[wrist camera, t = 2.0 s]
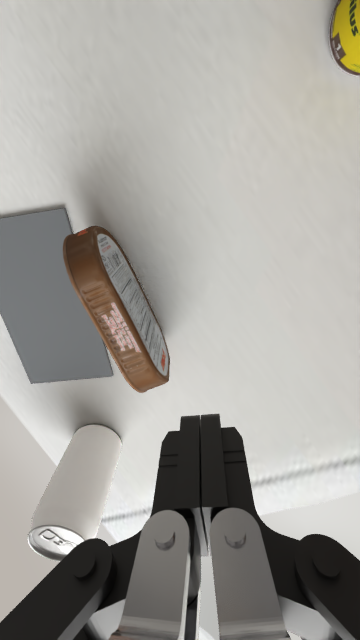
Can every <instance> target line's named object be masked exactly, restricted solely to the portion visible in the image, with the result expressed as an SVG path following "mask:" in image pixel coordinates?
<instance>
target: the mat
mask: <svg viewBox="0 0 360 640" xmlns="http://www.w3.org/2000/svg"><path fill="white" fill-rule="evenodd" d="M70 234H73V233H72V229H71V226H70V222H69V219H68V216H67V212H66V209H65V208H62V209H56V210H50V211H44V212H38V213H31V214H25V215H19V216H13V217H7V218H1V219H0V314H1V316H2V318H3V320H4V323H5V325H6V327H7V330H8V332H9V334H10V337H11V339H12V341H13V343H14V346H15V348H16V350H17V353H18V355H19V357H20V360H21V362H22V364H23V366H24V369H25V371H26V373H27V376H28V378H29V380H30V382H31V384H33V383H44V382H55V381H66V380H78V379H89V378H100V377H111V376H113V372H112V368H111V365H110V361H109V358H108V354H107V351H106V347H105V344H104V341H103V339H102V338H101V336H100V334H99V332H98V331H97V329H96V327H95V326H94V324H93V322H92V320H91V319H90V317H89V315H88V313H87V312H86V310H85V308H84V306H83V305H82V303H81V301H80V299H79V298H78V296H77V294H76V292H75V290H74V288H73V286H72V284H71V281H70V279H69V276H68V274H67V271H66V267H65V263H64V259H63V242H64V239H65V238H66V236H68V235H70Z"/></svg>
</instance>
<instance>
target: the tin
mask: <svg viewBox="0 0 360 640" xmlns="http://www.w3.org/2000/svg"><path fill="white" fill-rule="evenodd" d="M63 259H64V263H65V267H66V271H67V274H68V276H69V279H70V281H71V284H72V286H73V288H74V290H75V292H76V294H77V296H78V298H79V299H80V301H81V303H82V305H83V306H84V308H85V310H86V312H87V313H88V315H89V317H90V319H91V320H92V322H93V324H94V326H95V327H96V329H97V331H98V332H99V334H100V336H101V338H102V339H103V341H104V343H105V345H106V347H107V348H108V350H109V352H110V354H111V355H112V357H113V359H114V361H115V362H116V364H117V366H118V368H119V370H120V371H121V373H122V375H123V376H124V378H125V380H126V381H127V382H128V383H129V385H130V386H131V387H132V388H133V389H135V390H136V391H138V392H140V393H143V392H146V391H147V390H149V389H152V388H154V387H157V386H160V385H162V384H165V383H166V382H168V381H169V365H170V358H169V353H168V349H167V345H166V342H165V339H164V336H163V334H162V331H161V329H160V326H159V324H158V322H157V320H156V318H155V316H154V314H153V311H152V309H151V307H150V305H149V303H148V301H147V298H146V296H145V294H144V292H143V290H142V288H141V286H140V284H139V282H138V280H137V278H136V276H135V274H134V271H133V269H132V267H131V265H130V263H129V261H128V259H127V258H126V256H125V254H124V252H123V250H122V249H121V247H120V246H119V244H118V243H117V241H116V240H115V239H114V237H113V236H112V235H111V234H110V233H109V232H108V231H107V230H106V229H104V228H102V227H98V226H91V227H89V228H86V229H84V230H82V231H80V232H78V233H76V234H70V235H68V236H66V238H65V239H64V242H63Z"/></svg>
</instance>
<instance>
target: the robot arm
mask: <svg viewBox="0 0 360 640" xmlns="http://www.w3.org/2000/svg"><path fill="white" fill-rule="evenodd" d="M208 544H209V549H210V555H211V556H212V565H213V574H214V585H215V593H216V604H217V614H218V624H219V635H220V640H291V638H290V636H289V634H288V633H287V631H289V632H291V633H294V634H296V635H298V636H300V637H301V639H302V640H360V561H359V560H358V559H357V558H356V557H355V556H354V555H353V554H351V553H350V552H349V551H348V550H347V549H346V548H344V547H343V546H342V545H341V544H340V543H338V542H337V541H335V540H334V539H332V538H330V537H328V536H325V535H320V534H311V535H307V536H305V537H304V538H302V539H301V540H300V541H299V540H296V539H293V538H290V537H287V536H284V535H281V534H279V533H277V532H275V531H273V530H271V529H270V528H269V527H267V526H266V525H265V524H264V523H263V521H262V520H261V519H260V517H259V516H258V514H257V512H256V509H255V506H254V501H253V495H252V489H251V484H250V478H249V473H248V467H247V462H246V456H245V451H244V445H243V440H242V437H241V435H240V434H239V432H238V431H237V430H236V428H235V427H227V428H221V424H220V415H219V414H208V415H201V419H200V415H196V416H182V417H181V423H180V431H169V432H168V434H167V435H166V437H165V438H164V440H163V442H162V446H161V453H160V460H159V468H158V473H157V480H156V487H155V494H154V501H153V508H152V513H151V516H150V518H149V519H148V521H147V522H146V523H145V525H144V527H143V529H142V530H141V531H139V532H138V533H137V534H136V535H134V536H133V537H131V538H129V539H126V540H124V541H121V542H119V543H116V544H114V545H111V546H108V544H107V543H106V542H105V541H103V540H101V539H98V538H92V539H88V540H85V541H83V542H81V543H80V544H78V545H77V546H76V547H75V548H73V549H72V550H71V551H70V552H69V553H68V554H67V555H66V556H65V557H64V559H63V560H62V561H61V562H60V563H59V564H58V565H57V566H56V567H55V568H54V569H53V570H52V571H51V572H50V573H49V574H48V575H47V576H46V577H45V578H44V579H43V580H42V581H41V582H40V583H39V584H38V585H37V586H36V587H35V588H34V589H33V590H32V591H31V592H30V593H29V594H28V595H27V596H26V597H25V598H24V599H23V600H22V601H21V602H20V603H19V604H18V605H17V606H16V607H15V608H14V609H13V611H11V612H10V613H9V614H8V615H7V616H6V617H5V618H4V619H3V620H2V621H1V623H0V640H198V635H199V614H200V596H201V556H208Z"/></svg>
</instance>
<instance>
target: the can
mask: <svg viewBox="0 0 360 640" xmlns="http://www.w3.org/2000/svg"><path fill="white" fill-rule="evenodd" d="M121 450H122V442H121V440H120V438H119V436H118V435H117V434H116V433H115V432H114V431H113V430H112V429H110V428H108V427H106V426H103V425H99V424H91V425H86V426H84V427H81V428H80V429H78V430H77V431H76V432H75V434H74V436H73V437H72V439H71V441H70V443H69V445H68V447H67V449H66V451H65V453H64V455H63V457H62V459H61V461H60V463H59V465H58V467H57V469H56V470H55V473H54V475H53V476H52V478H51V480H50V482H49V484H48V486H47V488H46V490H45V492H44V494H43V496H42V498H41V500H40V502H39V504H38V506H37V508H36V510H35V512H34V515H33V517H32V523H31V531H30V532H29V534H28V537H27V540H28V544H29V545H30V547H31V548H32V549H33V550H34V551H35V552H36V553H38V554H39V555H41V556H43V557H45V558H48V559H51V560H55V561H60V562H61V561H62V560H63V559H64V557H65V556H66V555H67V554H68V553H69V552H70V551H71V550H72V549H73V548H75V547H76V546H77V545H78V544H80V543H81V542H83V541H85V540H88V539H92V538H95V537H96V534H97V532H98V529H99V525H100V522H101V519H102V516H103V512H104V509H105V505H106V502H107V499H108V495H109V492H110V489H111V485H112V482H113V478H114V475H115V472H116V468H117V465H118V461H119V458H120V454H121Z"/></svg>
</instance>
